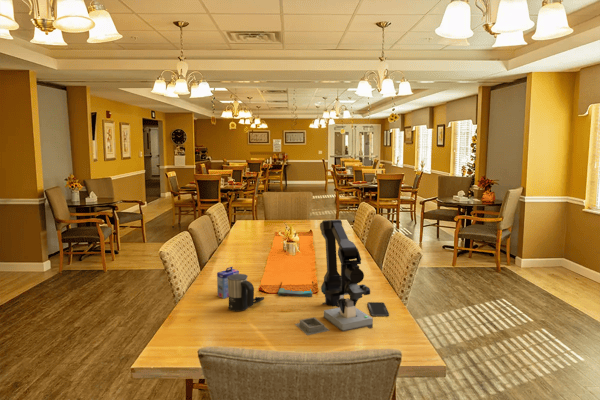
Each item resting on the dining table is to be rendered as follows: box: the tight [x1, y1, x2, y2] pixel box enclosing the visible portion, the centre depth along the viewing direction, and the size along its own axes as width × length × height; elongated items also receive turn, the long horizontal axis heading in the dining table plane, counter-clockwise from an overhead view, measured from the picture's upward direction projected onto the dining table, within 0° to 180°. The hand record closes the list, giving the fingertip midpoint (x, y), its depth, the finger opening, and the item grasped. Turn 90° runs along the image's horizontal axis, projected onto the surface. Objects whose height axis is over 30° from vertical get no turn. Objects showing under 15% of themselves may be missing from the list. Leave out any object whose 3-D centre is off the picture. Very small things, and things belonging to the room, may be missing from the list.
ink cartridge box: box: [216, 266, 240, 300], centre depth 222 cm, size 10×6×14 cm, turn 137°
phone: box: [367, 301, 390, 317], centre depth 202 cm, size 8×1×15 cm
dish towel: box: [277, 287, 314, 298], centre depth 231 cm, size 17×23×2 cm
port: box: [323, 307, 374, 332], centre depth 188 cm, size 16×14×4 cm
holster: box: [294, 316, 330, 336], centre depth 182 cm, size 12×10×3 cm
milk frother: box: [227, 273, 265, 312], centre depth 207 cm, size 14×16×15 cm
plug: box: [340, 297, 357, 319], centre depth 187 cm, size 6×4×8 cm, turn 25°
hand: (347, 312), depth 187 cm, fingers closed on plug, 4 cm apart
